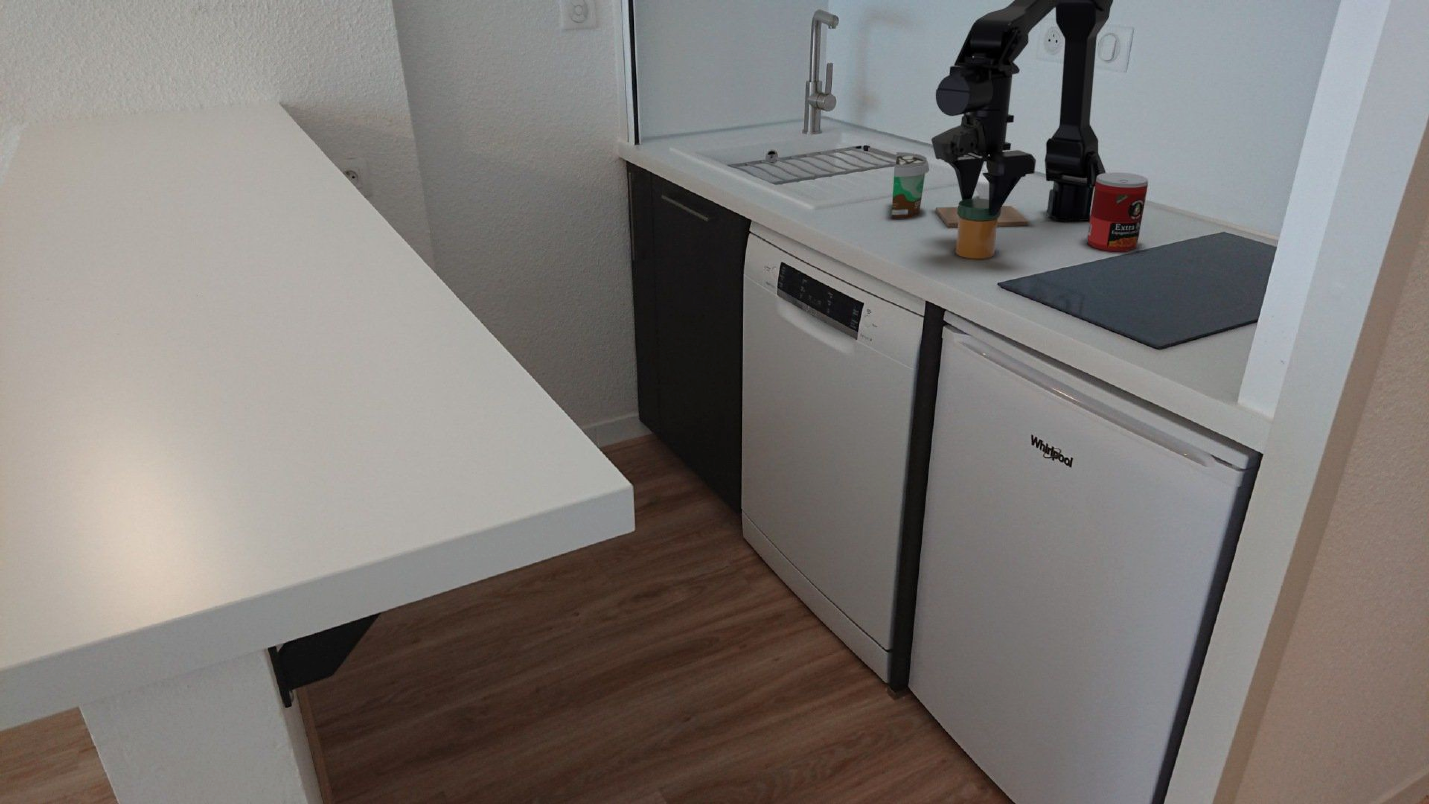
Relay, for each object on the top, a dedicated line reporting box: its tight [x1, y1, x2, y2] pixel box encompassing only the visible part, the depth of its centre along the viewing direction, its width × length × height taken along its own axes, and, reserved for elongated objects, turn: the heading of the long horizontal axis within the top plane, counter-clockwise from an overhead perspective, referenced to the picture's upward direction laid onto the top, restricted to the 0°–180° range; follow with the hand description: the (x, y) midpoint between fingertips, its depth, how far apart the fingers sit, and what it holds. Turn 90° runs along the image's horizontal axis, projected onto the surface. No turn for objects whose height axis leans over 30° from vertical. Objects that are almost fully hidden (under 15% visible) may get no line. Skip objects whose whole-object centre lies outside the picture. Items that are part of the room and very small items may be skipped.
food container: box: [890, 151, 930, 220], centre depth 175 cm, size 12×6×10 cm, turn 168°
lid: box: [957, 198, 1001, 221], centre depth 150 cm, size 6×6×2 cm
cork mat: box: [935, 205, 1029, 228], centre depth 172 cm, size 14×11×1 cm
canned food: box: [1086, 172, 1149, 252], centre depth 153 cm, size 8×8×11 cm
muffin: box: [975, 164, 989, 199], centre depth 183 cm, size 6×6×7 cm
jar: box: [955, 217, 998, 260], centre depth 152 cm, size 6×6×8 cm
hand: (979, 209), depth 150 cm, fingers open, 7 cm apart
